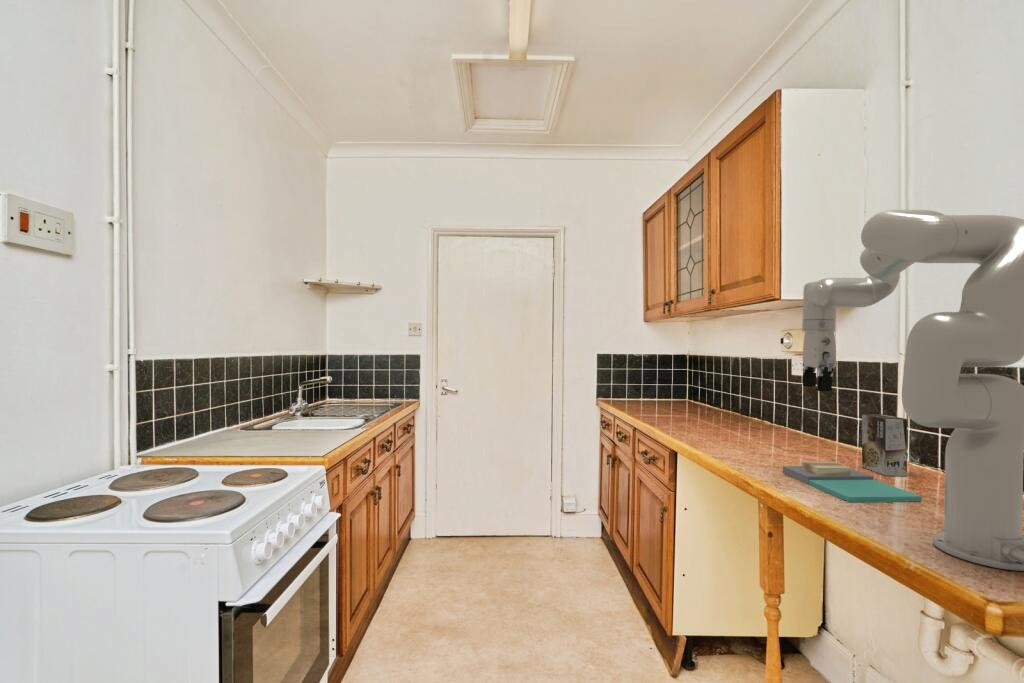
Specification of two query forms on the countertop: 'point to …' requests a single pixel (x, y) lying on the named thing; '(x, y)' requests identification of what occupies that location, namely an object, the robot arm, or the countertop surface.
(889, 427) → the coffee box
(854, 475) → the board
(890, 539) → the countertop surface
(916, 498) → the mat
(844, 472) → the tile
